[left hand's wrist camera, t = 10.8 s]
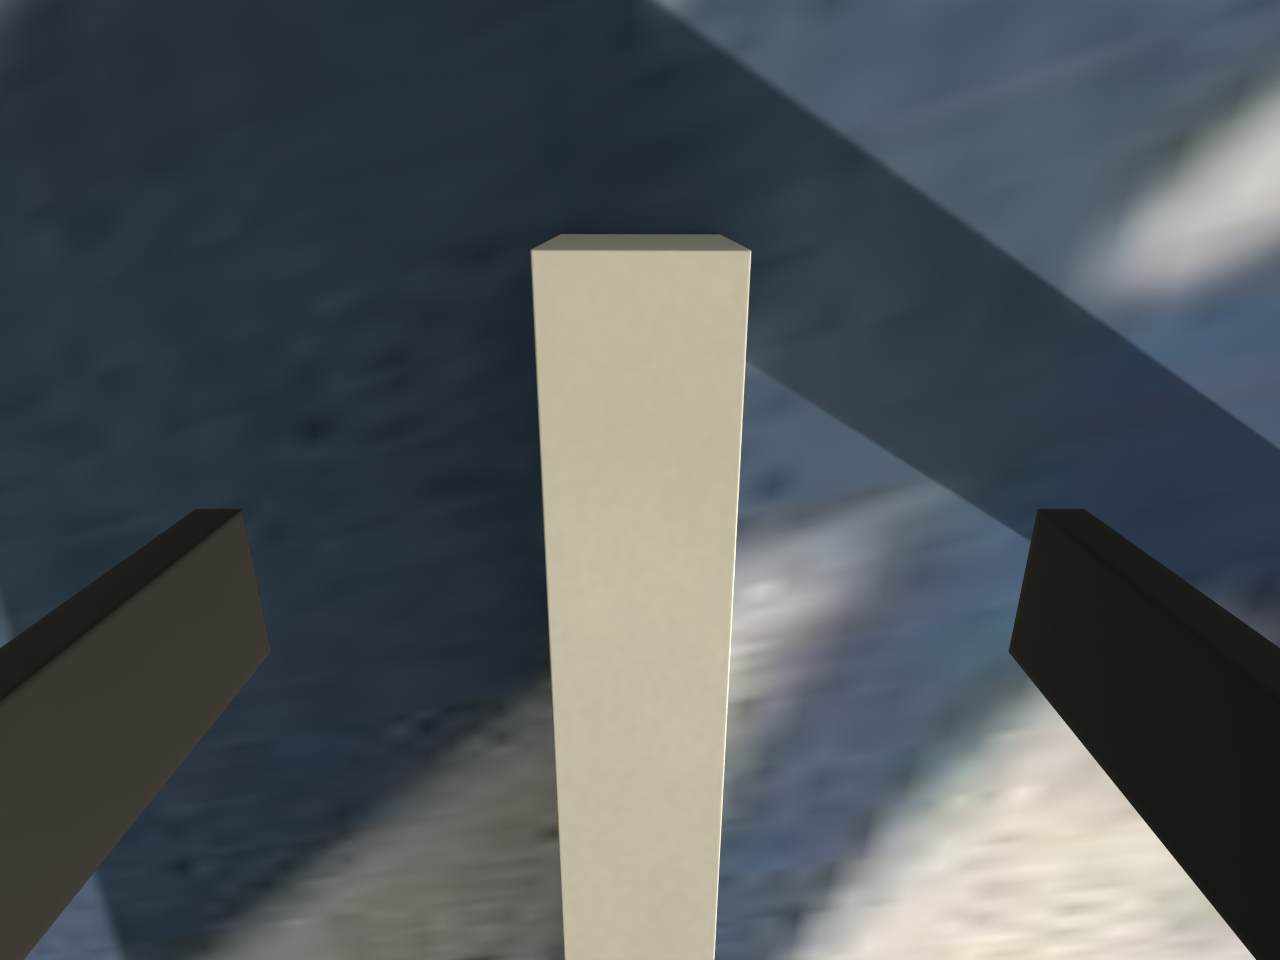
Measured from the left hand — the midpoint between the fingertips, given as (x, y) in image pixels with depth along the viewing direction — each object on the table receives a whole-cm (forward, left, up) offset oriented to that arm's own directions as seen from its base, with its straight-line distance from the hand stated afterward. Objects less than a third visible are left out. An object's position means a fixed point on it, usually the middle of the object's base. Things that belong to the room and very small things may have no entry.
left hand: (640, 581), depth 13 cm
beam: (+9, +26, -18) cm, 33 cm away
